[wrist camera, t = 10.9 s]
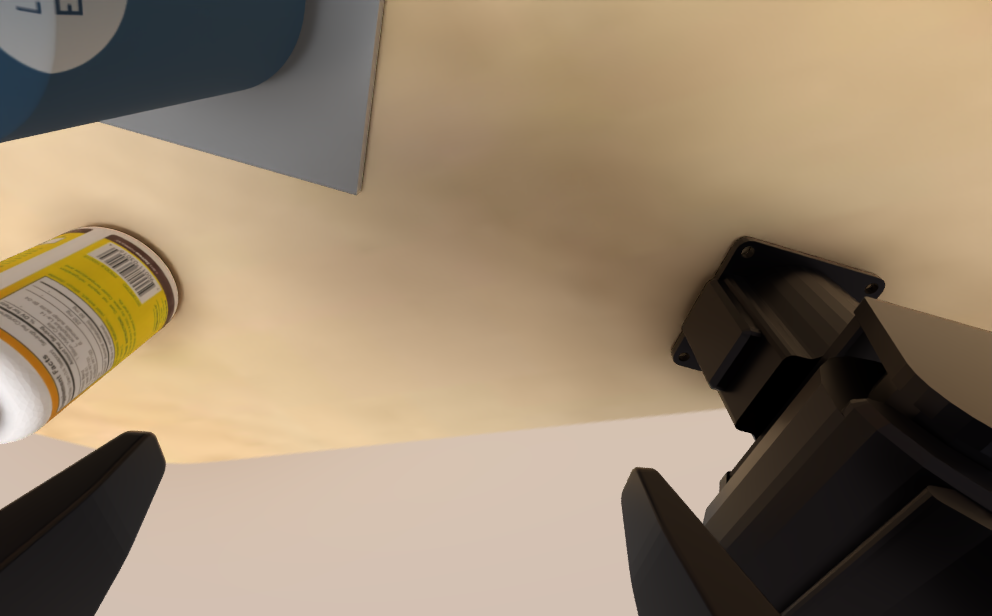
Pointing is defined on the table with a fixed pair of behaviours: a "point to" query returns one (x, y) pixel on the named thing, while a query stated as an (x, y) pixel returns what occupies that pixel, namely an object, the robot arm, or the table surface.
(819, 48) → the table surface
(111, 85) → the soda can
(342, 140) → the coaster
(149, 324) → the supplement bottle
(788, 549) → the robot arm
